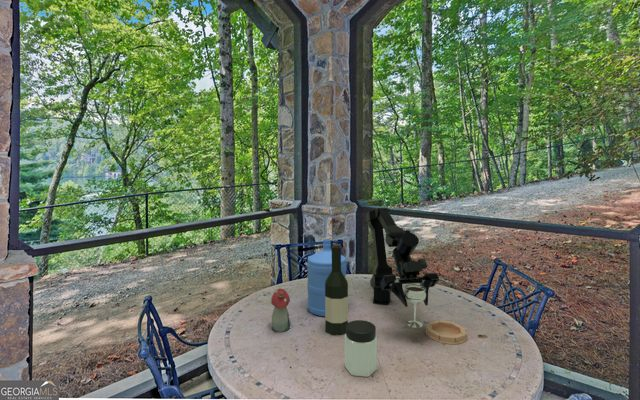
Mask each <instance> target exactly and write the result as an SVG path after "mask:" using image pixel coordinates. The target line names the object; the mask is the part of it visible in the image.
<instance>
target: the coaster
mask: <svg viewBox="0 0 640 400" xmlns="http://www.w3.org/2000/svg"><path fill="white" fill-rule="evenodd" d="M425 334H426V336H427V337H428V338H429V339H431V340H432V341H435V342H437V343H440V344H444V345H445V344H446V345H461V344H464V343H466V342H467V340H468V334H467V332H466V328H465V327H464V326H462V325H459V324H457V323H456V322H452V321H450V320H449V321H448V320H447V321H446V320H433V321H430V322H427V323H426V328H425Z"/></svg>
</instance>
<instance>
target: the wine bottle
mask: <svg viewBox="0 0 640 400" xmlns="http://www.w3.org/2000/svg"><path fill="white" fill-rule="evenodd" d="M331 250H332V271H331V273H330V274H329V276H328V278H327V279H326V281H325V316H324V317H325V319H324V322H325V326H324V327H325V328H324V329H325V330H324V331H325V333H327V334H328V335H332V336H344V335H345V334H346V325H347V324H348V323H349V283H348V280H347V278H346V276H344V275H343V273H342V271H341V255H342V247H341V245H340V243H332V246H331Z"/></svg>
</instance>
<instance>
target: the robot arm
mask: <svg viewBox="0 0 640 400" xmlns="http://www.w3.org/2000/svg"><path fill="white" fill-rule="evenodd" d="M365 220H366V222H367V226H368V228H369V229H370V230H371V232H372V239H373V249H374V257H375V266H374V269H373V271H372V276H371V278H370V281H369V283H370V287H371V288H372V289H373V300H372V303H373V304H377V305H378V304H379V305H387V306H388V305H389V304H390V302H391V298H392V297H391V296H392V293H393V294H394V295H395V297H396V298H398V300H399V301H400V302H401V303H402V304H403V306H404V307H405V308H407V307H408V306H409V305H408V300H407V299H406V297H405V294H404V292H405V290H404V289H403V285H410V284H419V285H421V286H424V287H425V288H426V291H425V292H426V298H425V300H424V301H423V303H424V305H425V307H426V306H428V305H429V289H430V288H433V287H435V286H436V285H437V283H438V282H440V276H439V275H438V273H436V272H425V273H424V274H423V276H420V272H424V270H425V269H427V268H428V264H427V263H428V262H427V260H426V259H425V258H420V259H417V261H415V260H413V259H412V255H413V253H414V252H415V250H416V249H417V247H418V245H419V242H420V239H419V237H418V235H416V234H415V233H413V232H411V231H410V229H409V230H407V229H406V230H405V229H403V228H402V227H399V226H398V225H397V223H396V222H395V220H394V218H393V217H392V215H391V214H390V209H389V208H387V207H377V208H375V209H373V210H369V211H368V212H367V213H366V214H365ZM384 231H385V233H384ZM386 245H387V246H388V248H394V249H393V250H392V254H391V257H392V258H393V260H394V263H395V266H396V267H395V271H396V272H397V273H398V276H399V277H397V276H396V275H395V274H394V273H393V272H394V271H393V267H392V266H390V265H389V263H388V261H387V251H386V250H387V249H386Z"/></svg>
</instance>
